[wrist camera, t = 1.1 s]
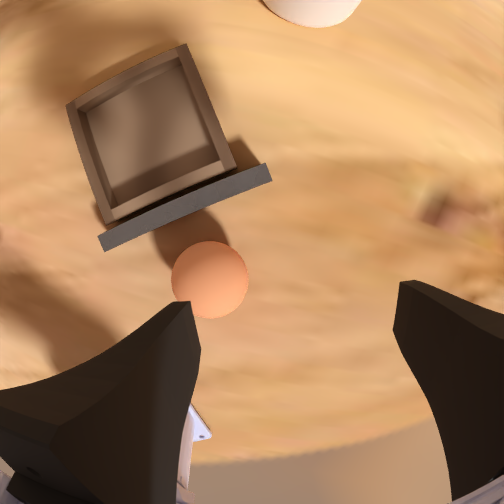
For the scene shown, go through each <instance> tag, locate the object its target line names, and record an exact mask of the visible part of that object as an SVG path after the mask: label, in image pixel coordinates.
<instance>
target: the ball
mask: <svg viewBox="0 0 504 504" xmlns="http://www.w3.org/2000/svg"><path fill="white" fill-rule="evenodd" d="M171 283H172V289H173V292H174V295H175V297H176V299H177V300H178V301H191V306H192V311H193V314H194V315H196V316H199V317H203V318H218V317H222V316H224V315H227V314H229V313H230V312H232V311H233V310H234V309H236V308H237V307H238V306H239V305H240V303H241V302H242V300H243V299H244V297H245V294H246V292H247V288H248V272H247V268H246V265H245V263H244V261H243V259H242V258H241V256H240V255H239V254H238V253H237V252H236V251H235V250H234V249H232V248H231V247H229V246H227V245H225V244H223V243H220V242H215V241H204V242H199V243H196V244H194V245H192V246H190V247H188V248H187V249H186V250H185V251H183V252H182V253H181V255H180V256H179V257H178V259H177V260H176V262H175V264H174V267H173V270H172V276H171Z"/></svg>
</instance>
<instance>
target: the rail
mask: <svg viewBox="0 0 504 504" xmlns="http://www.w3.org/2000/svg"><path fill="white" fill-rule="evenodd" d="M270 181H272V178H271V176H270V173H269V171H268V168H267V165H266V163H263V164H261V165H258V166H255V167H253V168H250V169H247V170H245V171H242V172H240V173H237V174H235V175H232V176H230V177H227V178H225V179H222V180H220V181H217V182H215V183H212V184H210V185H207V186H205V187H203V188H200V189H198V190H195V191H193V192H191V193H188V194H186V195H184V196H181V197H179V198H177V199H175V200H172V201H170V202H168V203H166V204H163V205H161V206H159V207H157V208H154V209H152V210H150V211H148V212H146V213H144V214H142V215H139V216H137V217H135V218H133V219H131V220H129V221H127V222H125V223H123V224H121V225H119V226H117V227H114V228H112V229H110V230H108V231H106V232H104V233H102V234H100V235H99V236H98V239H99V241H100V243H101V246H102V248H103V250H104V252H106V251H108V250H110V249H112V248H114V247H117V246H119V245H121V244H123V243H125V242H127V241H129V240H132V239H134V238H136V237H138V236H140V235H143V234H145V233H147V232H149V231H151V230H154V229H156V228H158V227H160V226H163V225H165V224H167V223H169V222H172V221H174V220H176V219H179V218H181V217H183V216H186V215H188V214H190V213H193V212H195V211H198V210H200V209H202V208H205V207H207V206H210V205H212V204H214V203H217V202H219V201H222V200H224V199H227V198H229V197H232V196H234V195H237V194H239V193H242V192H244V191H247V190H250V189H252V188H255V187H257V186H260V185H262V184H265V183H268V182H270Z"/></svg>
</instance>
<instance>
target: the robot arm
mask: <svg viewBox="0 0 504 504" xmlns="http://www.w3.org/2000/svg"><path fill="white" fill-rule="evenodd" d="M393 332H394V335H395V338H396V340H397V343H398V346H399V348H400V350H401V353H402V355H403V356H404V358H405V360H406V362H407V364H408V365H409V367H410V369H411V371H412V373H413V374H414V376H415V378H416V380H417V381H418V383H419V385H420V387H421V389H422V391H423V392H424V394H425V396H426V398H427V400H428V402H429V405H430V407H431V410H432V412H433V415H434V418H435V421H436V424H437V427H438V430H439V433H440V436H441V440H442V444H443V447H444V452H445V456H446V461H447V466H448V471H449V478H450V485H451V493H452V494H451V495H452V502H450V503H448V504H504V314H501V313H498V312H495V311H492V310H489V309H486V308H484V307H481V306H478V305H476V304H473V303H471V302H468V301H466V300H464V299H461V298H459V297H457V296H454V295H452V294H450V293H448V292H445V291H443V290H441V289H438V288H436V287H434V286H431V285H429V284H426V283H423V282H420V281H417V280H410V281H403V282H400V285H399V293H398V300H397V307H396V314H395V320H394V326H393ZM200 355H201V346H200V342H199V338H198V334H197V329H196V325H195V320H194V316H193V311H192V306H191V301H177V302H172V303H170V304H169V305H167V306H166V307H165V308H163V309H162V310H161V311H159V312H158V313H157V314H156V315H154V316H153V317H152V318H151V319H149V320H148V321H147V322H146V323H144V324H143V325H142V326H140V327H139V328H138V329H137V330H135V331H134V332H132V333H131V334H130V335H128V336H127V337H125V338H124V339H123V340H121V341H120V342H118V343H117V344H116V345H114V346H112V347H111V348H109V349H108V350H106V351H105V352H103V353H101V354H99V355H98V356H96V357H94V358H92V359H90V360H89V361H87V362H85V363H82V364H80V365H78V366H76V367H74V368H72V369H69V370H67V371H65V372H63V373H60V374H58V375H55V376H52V377H50V378H47V379H44V380H41V381H37V382H34V383H31V384H27V385H23V386H18V387H14V388H9V389H4V390H0V457H2V459H3V460H4V461H5V462H6V463H7V464H8V465H9V466H10V467H11V468H12V469H13V470H14V471H15V473H14V475H13V477H12V478H11V477H9V476H8V475H7V474H5V473H4V472H2V471H1V470H0V504H194V499H195V494H194V493H192V492H189V491H187V489H188V480H189V471H190V462H191V454H192V445H193V442H195V441H199V440H204V439H209V438H211V436H212V433H211V431H210V430H209V429H208V427H207V426H206V424H205V423H204V422H203V420H202V419H201V418H200V416H199V415H198V413H197V412H196V410H195V409H194V408H193V406H192V405H191V403H190V402H191V398H192V395H193V391H194V387H195V384H196V380H197V376H198V371H199V363H200ZM201 435H203V436H201Z"/></svg>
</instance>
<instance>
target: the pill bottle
mask: <svg viewBox="0 0 504 504" xmlns="http://www.w3.org/2000/svg"><path fill="white" fill-rule="evenodd" d="M263 1H264V3H265V4H266V5H267V6H268V8H269V9H270V10H271V11H273V12H274V13H275V14H276V15H278V16H279V17H281V18H283V19H285V20H287V21H289V22H292V23H294V24H297V25H301V26H306V27H314V28H322V27H329V26H333V25H336V24H339V23H341V22H342V21H344V20H345V19H347V18H348V17H349V16H350V15H351V14H352V12H353V11H354V10H355V8H356V7H357V6H358V5H359V3H360V2H361V1H362V0H263Z"/></svg>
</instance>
